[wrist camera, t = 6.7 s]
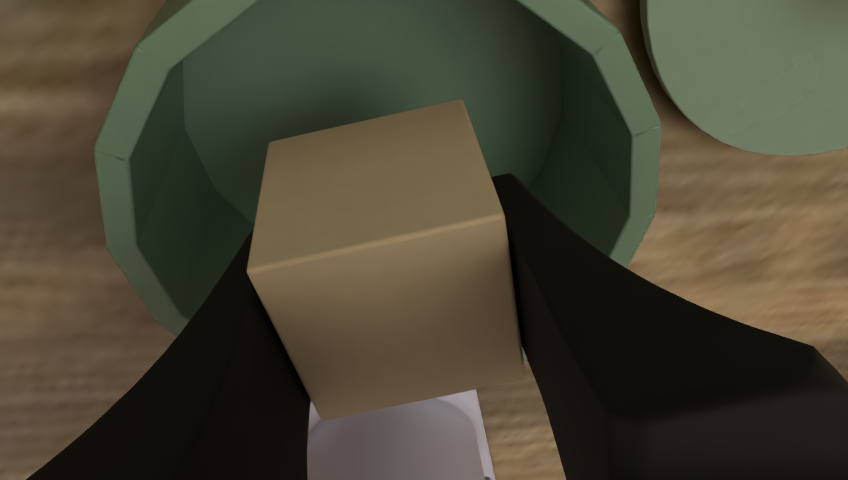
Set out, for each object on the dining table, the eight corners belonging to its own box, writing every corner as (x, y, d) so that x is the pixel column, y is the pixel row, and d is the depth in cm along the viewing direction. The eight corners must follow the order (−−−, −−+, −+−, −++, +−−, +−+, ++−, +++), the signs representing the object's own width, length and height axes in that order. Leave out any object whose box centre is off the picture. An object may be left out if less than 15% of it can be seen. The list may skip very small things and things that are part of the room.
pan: (582, 224, 20) (647, 349, 16) (254, 295, 21) (233, 436, 16) (570, -176, 13) (680, -142, 9) (74, -59, 14) (-44, 28, 9)
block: (486, 247, 15) (526, 380, 12) (324, 282, 15) (321, 423, 12) (462, 96, 12) (504, 215, 9) (267, 140, 12) (243, 272, 9)
